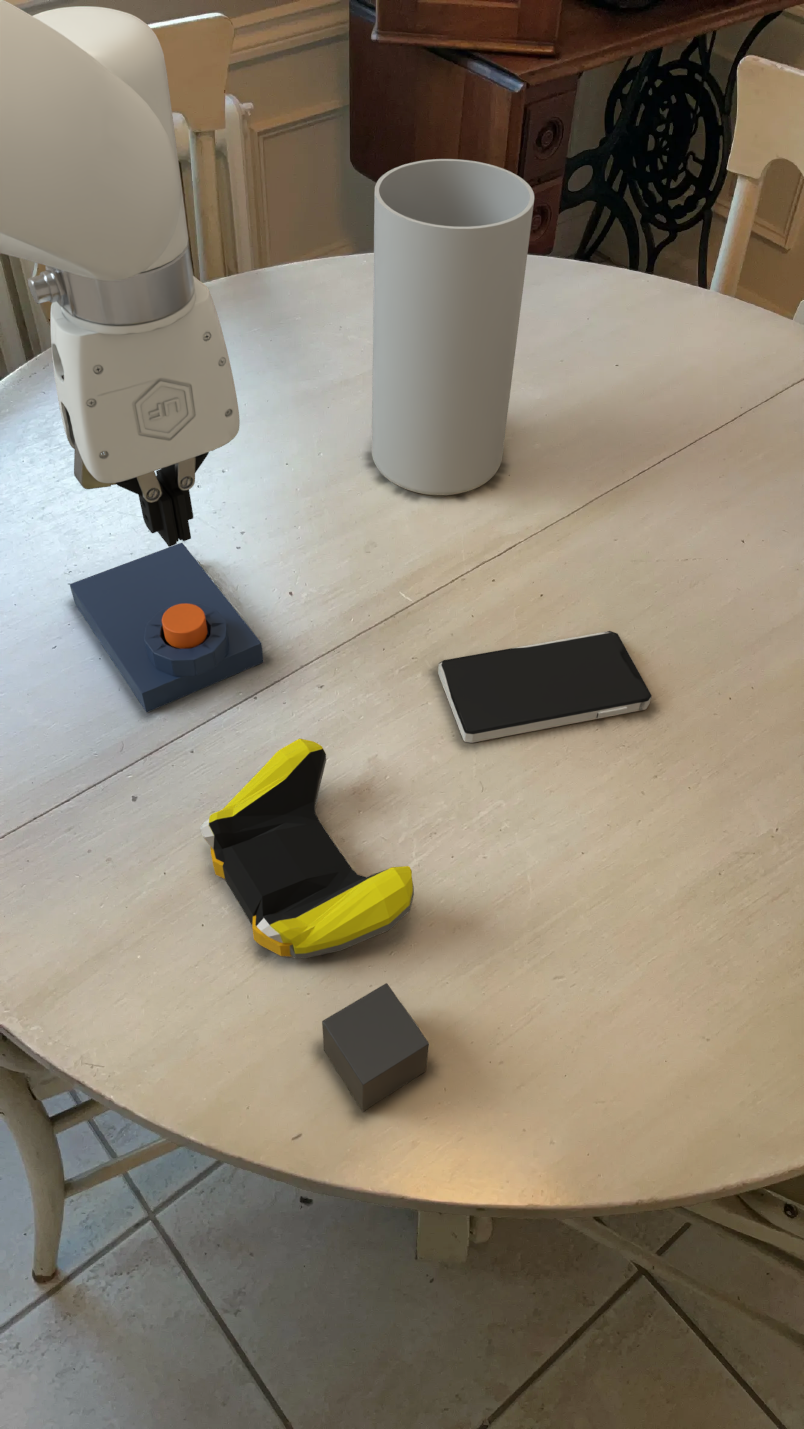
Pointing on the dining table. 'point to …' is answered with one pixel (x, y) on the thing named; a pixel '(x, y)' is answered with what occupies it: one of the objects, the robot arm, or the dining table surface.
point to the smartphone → (542, 686)
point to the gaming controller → (298, 863)
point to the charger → (375, 1046)
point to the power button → (184, 626)
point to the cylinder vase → (445, 320)
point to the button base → (133, 631)
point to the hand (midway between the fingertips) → (170, 531)
